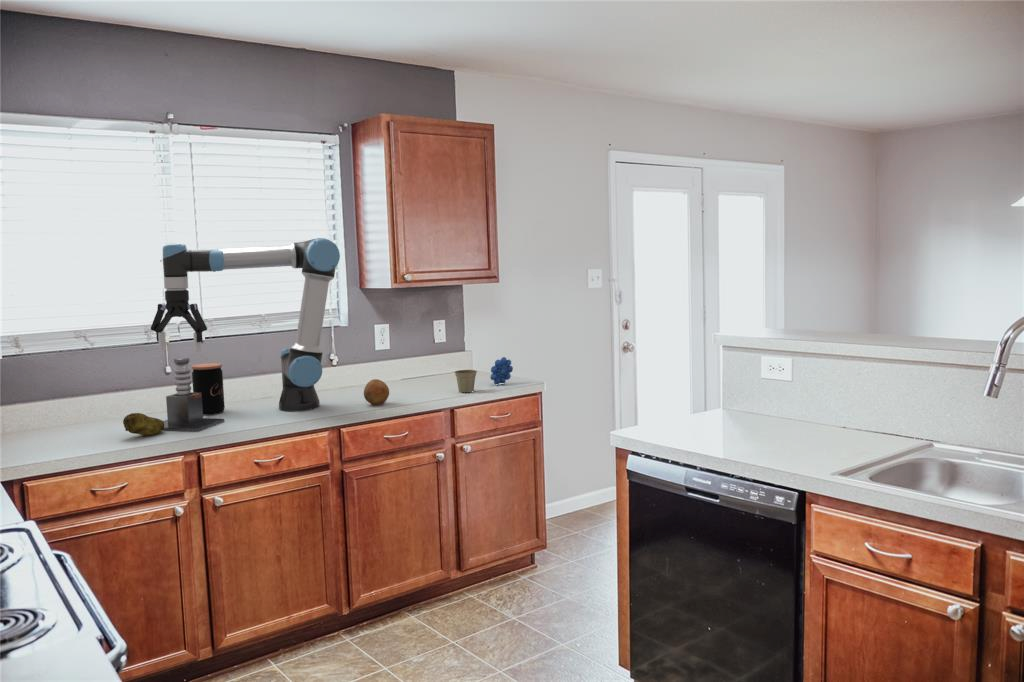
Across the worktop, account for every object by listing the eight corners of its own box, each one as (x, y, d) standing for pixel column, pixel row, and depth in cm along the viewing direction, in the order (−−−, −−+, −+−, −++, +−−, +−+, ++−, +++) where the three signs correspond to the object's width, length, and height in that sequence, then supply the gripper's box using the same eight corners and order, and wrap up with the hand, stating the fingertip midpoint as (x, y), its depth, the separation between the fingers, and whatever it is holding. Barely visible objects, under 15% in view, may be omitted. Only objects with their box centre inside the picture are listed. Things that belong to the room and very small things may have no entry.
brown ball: (395, 403, 314) (394, 378, 313) (377, 408, 306) (376, 382, 305) (376, 401, 319) (375, 376, 318) (358, 405, 311) (357, 380, 310)
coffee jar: (214, 415, 298) (211, 367, 295) (188, 415, 300) (185, 367, 298) (230, 409, 308) (227, 363, 306) (205, 409, 310) (202, 362, 308)
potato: (168, 434, 268) (167, 411, 267) (126, 440, 260) (124, 416, 259) (163, 430, 274) (161, 407, 273) (121, 436, 267) (119, 412, 266)
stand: (224, 421, 287) (222, 390, 286) (197, 431, 271) (195, 398, 270) (174, 419, 291) (172, 389, 290) (145, 429, 276) (143, 397, 275)
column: (196, 420, 283) (192, 357, 281) (187, 423, 278) (183, 359, 276) (183, 420, 284) (179, 357, 282) (174, 423, 279) (170, 359, 277)
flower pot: (475, 394, 331) (474, 373, 330) (452, 393, 333) (452, 373, 332) (479, 390, 340) (479, 369, 339) (457, 389, 342) (457, 369, 341)
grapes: (507, 381, 360) (506, 355, 359) (516, 383, 354) (515, 356, 353) (485, 384, 353) (484, 357, 352) (494, 386, 348) (493, 359, 346)
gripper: (215, 289, 277) (218, 350, 279) (151, 289, 282) (155, 349, 285) (202, 290, 270) (206, 353, 272) (137, 290, 275) (141, 352, 277)
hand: (180, 351), depth 278 cm, fingers open, 13 cm apart
